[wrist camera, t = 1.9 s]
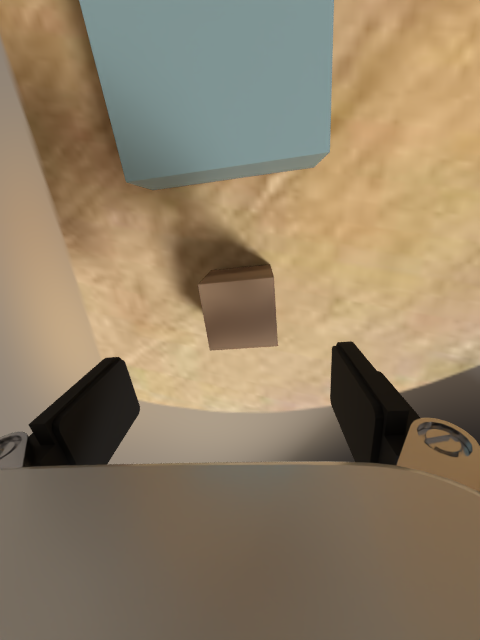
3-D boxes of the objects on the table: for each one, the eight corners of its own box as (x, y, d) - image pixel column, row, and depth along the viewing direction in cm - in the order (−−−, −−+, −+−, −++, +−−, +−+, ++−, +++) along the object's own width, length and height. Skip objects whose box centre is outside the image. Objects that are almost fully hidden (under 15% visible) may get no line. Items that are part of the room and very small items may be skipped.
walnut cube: (211, 270, 20) (197, 284, 16) (270, 264, 20) (273, 277, 15) (219, 323, 22) (209, 350, 17) (273, 319, 22) (277, 345, 17)
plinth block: (100, -47, 13) (41, -148, 10) (315, -103, 12) (340, -243, 9) (153, 190, 18) (126, 182, 14) (313, 167, 17) (329, 152, 13)
